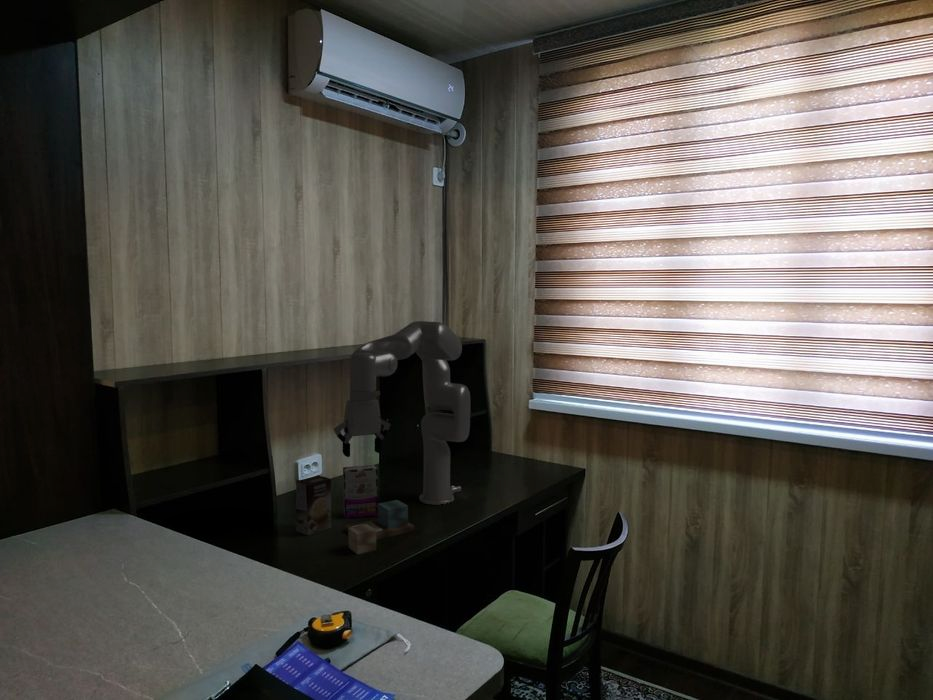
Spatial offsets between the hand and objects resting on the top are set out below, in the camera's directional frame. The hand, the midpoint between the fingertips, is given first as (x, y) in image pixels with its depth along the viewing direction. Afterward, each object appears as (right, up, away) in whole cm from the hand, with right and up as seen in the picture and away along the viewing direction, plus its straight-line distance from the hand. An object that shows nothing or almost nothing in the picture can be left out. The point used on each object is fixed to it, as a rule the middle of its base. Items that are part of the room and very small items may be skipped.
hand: (362, 454), depth 196 cm
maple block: (0, -28, +1) cm, 28 cm away
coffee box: (-18, -26, +15) cm, 35 cm away
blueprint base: (+3, -26, +15) cm, 31 cm away
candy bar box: (-5, -25, +29) cm, 39 cm away
